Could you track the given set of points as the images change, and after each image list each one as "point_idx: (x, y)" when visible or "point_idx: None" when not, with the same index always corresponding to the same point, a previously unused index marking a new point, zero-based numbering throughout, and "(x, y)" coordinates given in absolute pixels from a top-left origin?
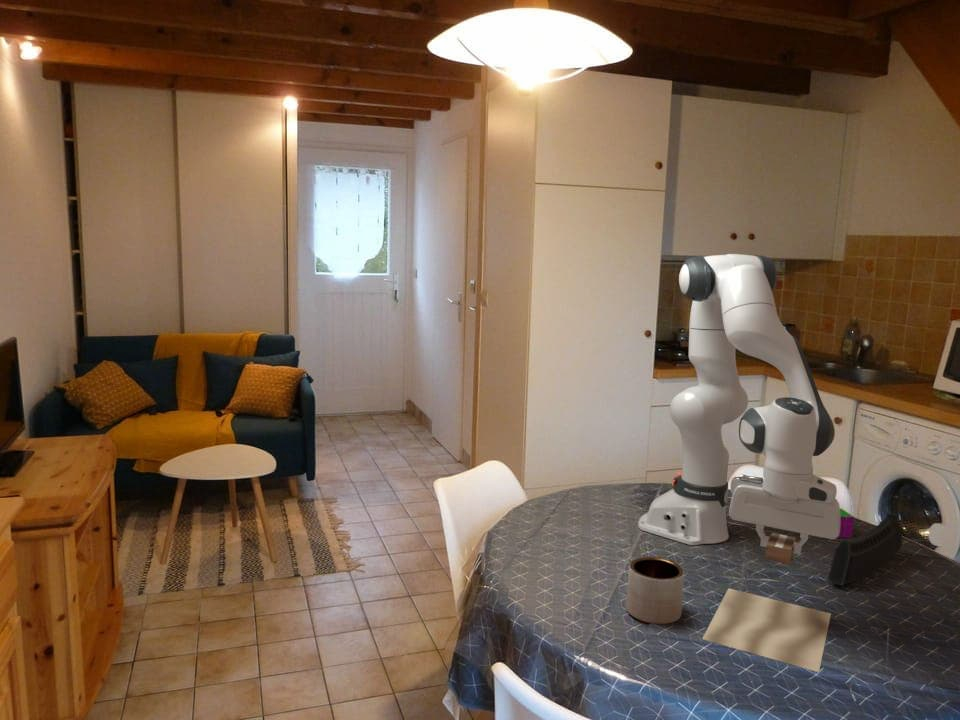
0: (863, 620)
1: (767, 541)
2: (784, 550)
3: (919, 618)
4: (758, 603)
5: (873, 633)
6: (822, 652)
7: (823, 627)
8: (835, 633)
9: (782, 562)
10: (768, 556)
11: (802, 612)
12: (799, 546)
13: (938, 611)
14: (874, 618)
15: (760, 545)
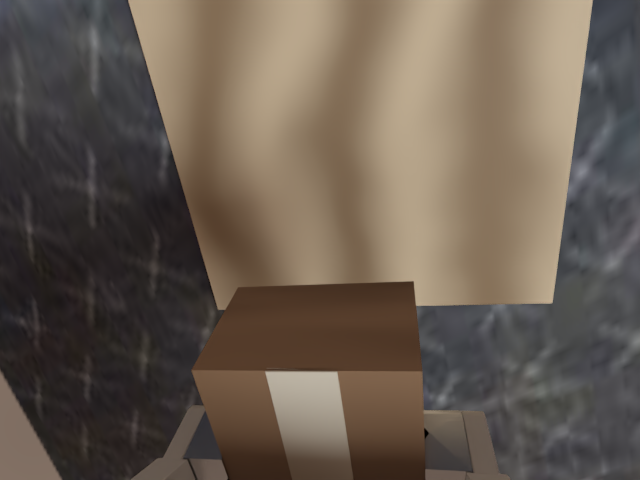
0: (151, 327)
1: (431, 452)
2: (252, 356)
3: (70, 398)
4: (427, 251)
5: (104, 273)
6: (136, 21)
7: (202, 211)
8: (173, 211)
9: (285, 288)
10: (388, 297)
11: (285, 271)
12: (172, 454)
13: (61, 442)
14: (136, 351)
15: (482, 411)
